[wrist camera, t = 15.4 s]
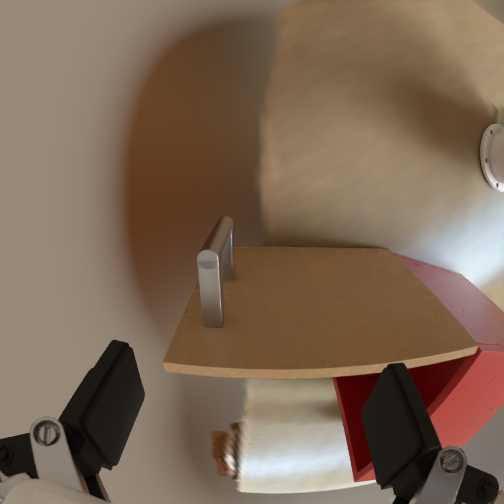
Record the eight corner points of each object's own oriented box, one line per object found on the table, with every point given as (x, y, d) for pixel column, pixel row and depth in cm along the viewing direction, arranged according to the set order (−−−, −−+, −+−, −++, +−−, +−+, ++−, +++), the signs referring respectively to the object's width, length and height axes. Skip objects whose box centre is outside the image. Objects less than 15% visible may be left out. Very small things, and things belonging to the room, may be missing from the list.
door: (213, 199, 38) (143, 277, 15) (394, 205, 37) (506, 276, 14) (215, 252, 41) (164, 371, 18) (387, 254, 40) (474, 354, 17)
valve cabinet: (331, 373, 49) (354, 482, 27) (391, 252, 40) (481, 350, 17) (401, 378, 50) (437, 466, 27) (461, 274, 41) (541, 351, 18)
